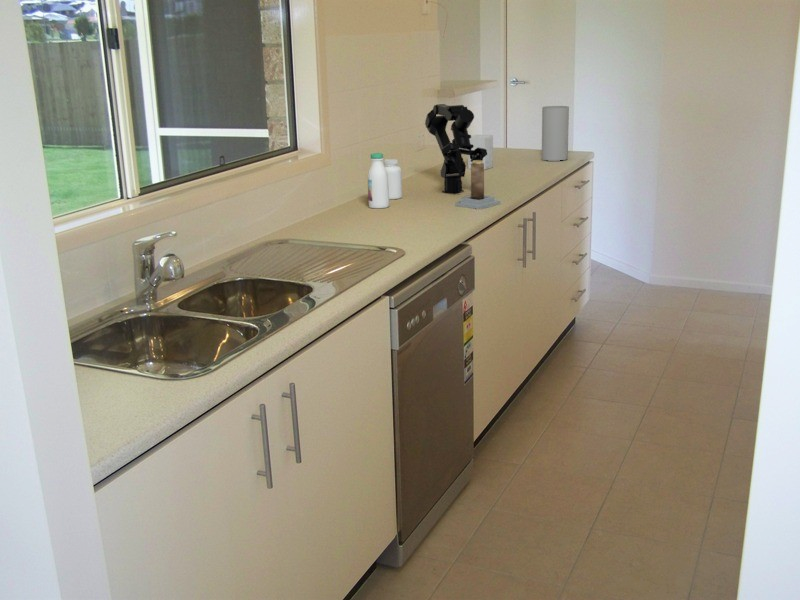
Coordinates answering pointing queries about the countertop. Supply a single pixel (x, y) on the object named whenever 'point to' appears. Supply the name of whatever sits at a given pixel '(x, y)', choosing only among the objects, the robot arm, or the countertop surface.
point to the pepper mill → (477, 180)
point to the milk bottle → (378, 183)
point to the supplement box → (487, 144)
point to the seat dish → (477, 202)
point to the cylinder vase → (555, 133)
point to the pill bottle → (394, 178)
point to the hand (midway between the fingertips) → (469, 172)
